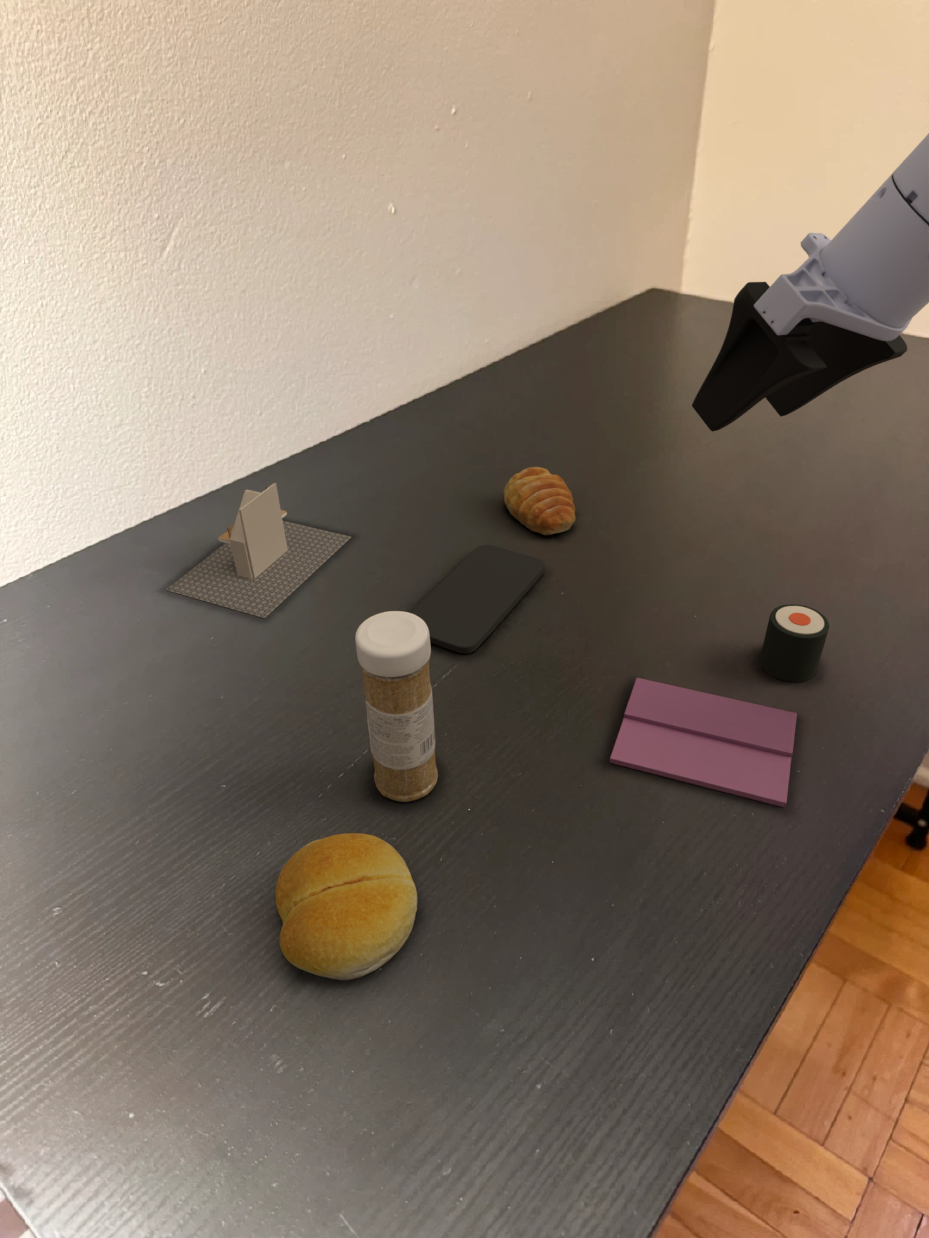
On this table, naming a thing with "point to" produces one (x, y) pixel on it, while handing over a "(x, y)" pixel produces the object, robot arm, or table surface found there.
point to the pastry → (540, 501)
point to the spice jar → (399, 703)
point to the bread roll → (345, 905)
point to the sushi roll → (793, 642)
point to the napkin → (707, 741)
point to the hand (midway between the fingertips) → (740, 410)
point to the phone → (477, 596)
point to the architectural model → (259, 558)
